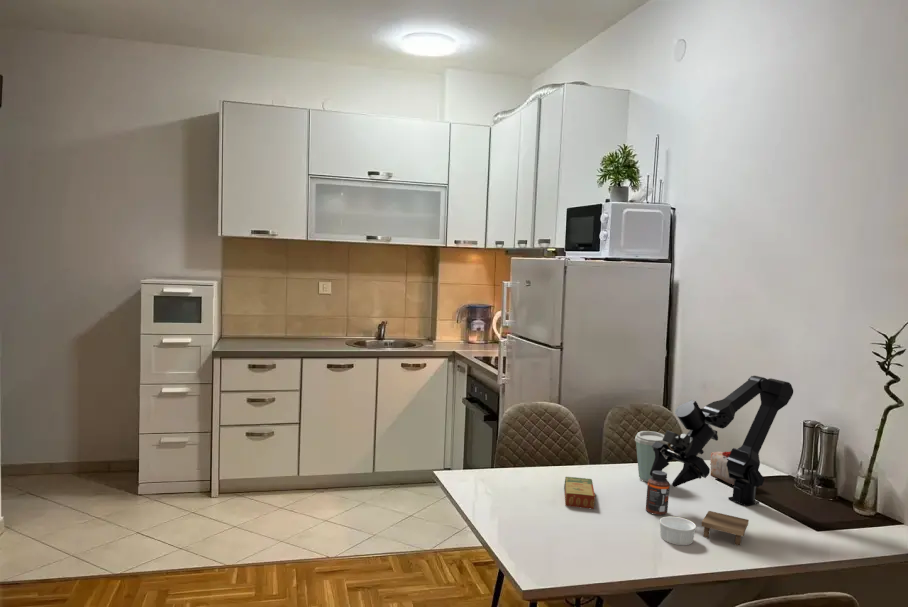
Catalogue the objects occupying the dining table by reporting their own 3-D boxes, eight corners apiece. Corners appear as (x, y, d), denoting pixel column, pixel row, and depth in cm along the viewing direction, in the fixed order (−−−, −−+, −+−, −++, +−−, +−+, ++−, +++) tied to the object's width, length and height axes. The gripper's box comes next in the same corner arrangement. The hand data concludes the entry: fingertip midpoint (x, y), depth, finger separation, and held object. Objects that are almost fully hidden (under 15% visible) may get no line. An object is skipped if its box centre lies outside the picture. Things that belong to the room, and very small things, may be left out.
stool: (707, 525, 185) (708, 510, 184) (747, 534, 180) (748, 519, 179) (700, 536, 176) (701, 521, 176) (741, 547, 171) (743, 531, 171)
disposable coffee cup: (669, 486, 216) (673, 439, 215) (635, 484, 216) (639, 437, 215) (660, 475, 227) (663, 431, 226) (627, 473, 227) (631, 429, 226)
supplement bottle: (668, 517, 189) (671, 477, 188) (646, 514, 190) (649, 474, 189) (666, 509, 195) (669, 470, 194) (644, 506, 196) (647, 468, 195)
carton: (564, 507, 193) (565, 492, 192) (563, 488, 209) (564, 475, 208) (594, 510, 192) (595, 495, 191) (591, 491, 207) (592, 477, 207)
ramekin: (690, 549, 168) (691, 532, 167) (654, 540, 172) (655, 523, 172) (698, 538, 175) (699, 522, 175) (663, 529, 180) (664, 513, 180)
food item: (705, 474, 232) (707, 446, 231) (724, 473, 234) (727, 445, 234) (733, 488, 219) (736, 457, 218) (753, 486, 222) (756, 457, 221)
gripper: (659, 413, 202) (626, 452, 198) (705, 429, 185) (670, 472, 181) (677, 439, 206) (645, 477, 202) (725, 456, 189) (690, 498, 185)
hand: (661, 480), depth 192 cm, fingers open, 9 cm apart
